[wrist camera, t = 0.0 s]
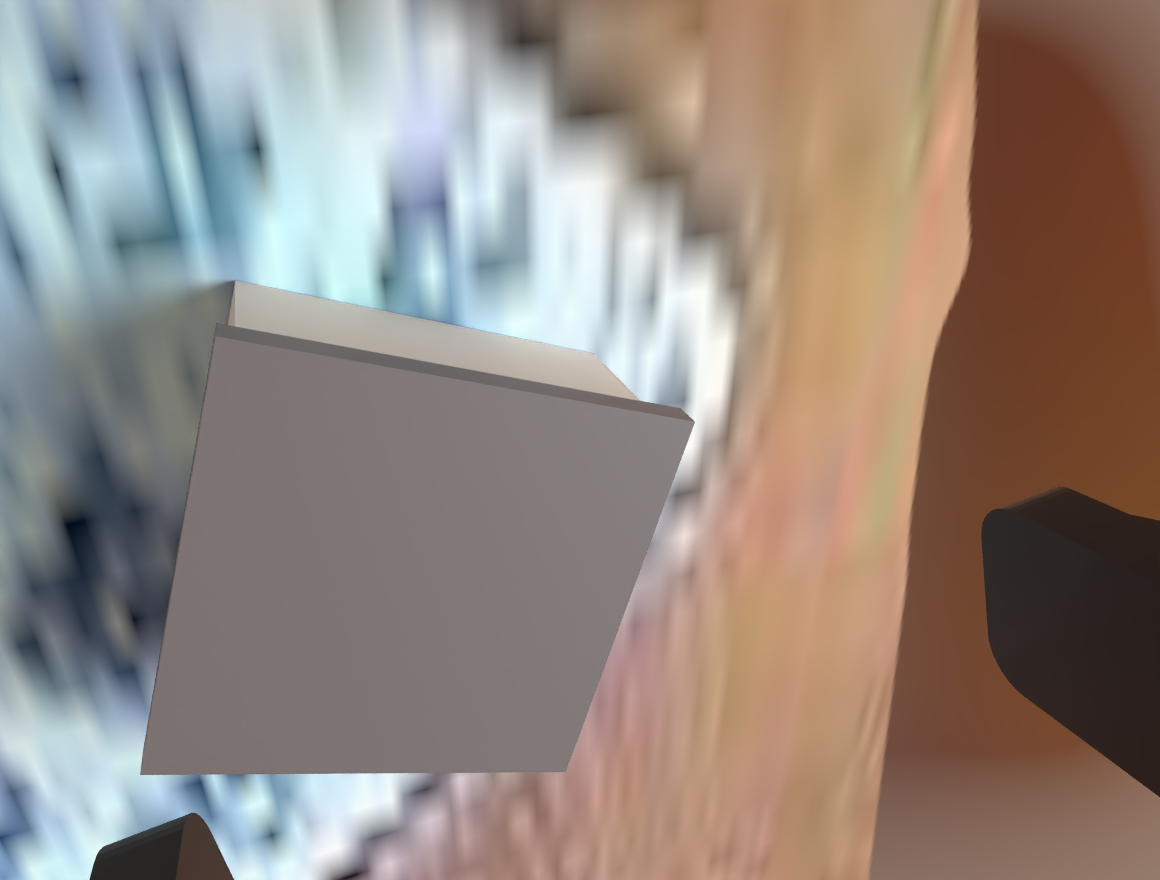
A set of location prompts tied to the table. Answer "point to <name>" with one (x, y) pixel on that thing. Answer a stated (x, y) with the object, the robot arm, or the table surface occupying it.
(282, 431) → the podium
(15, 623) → the table surface
